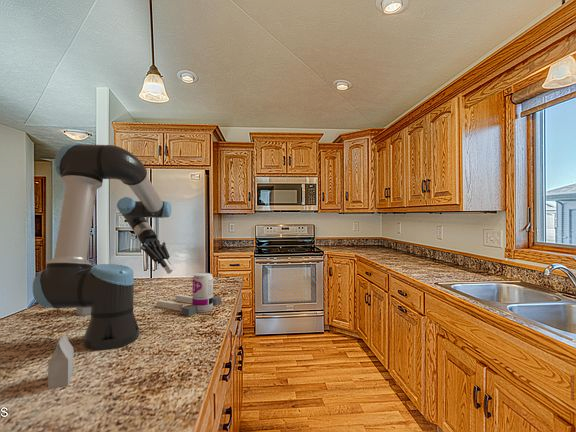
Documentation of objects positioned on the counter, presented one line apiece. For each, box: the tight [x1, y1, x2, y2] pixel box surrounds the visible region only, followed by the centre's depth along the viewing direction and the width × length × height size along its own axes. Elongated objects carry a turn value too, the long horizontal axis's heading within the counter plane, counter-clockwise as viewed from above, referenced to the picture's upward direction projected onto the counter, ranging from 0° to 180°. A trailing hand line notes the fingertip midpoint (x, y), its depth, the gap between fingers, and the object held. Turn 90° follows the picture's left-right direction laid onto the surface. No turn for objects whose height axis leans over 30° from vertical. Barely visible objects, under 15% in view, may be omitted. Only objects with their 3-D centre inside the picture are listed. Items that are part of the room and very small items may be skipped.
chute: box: [156, 294, 222, 317], centre depth 134 cm, size 20×22×3 cm
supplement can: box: [191, 272, 214, 314], centre depth 128 cm, size 8×8×15 cm
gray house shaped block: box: [47, 333, 75, 391], centre depth 73 cm, size 4×7×10 cm, turn 26°
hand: (170, 271), depth 139 cm, fingers closed
